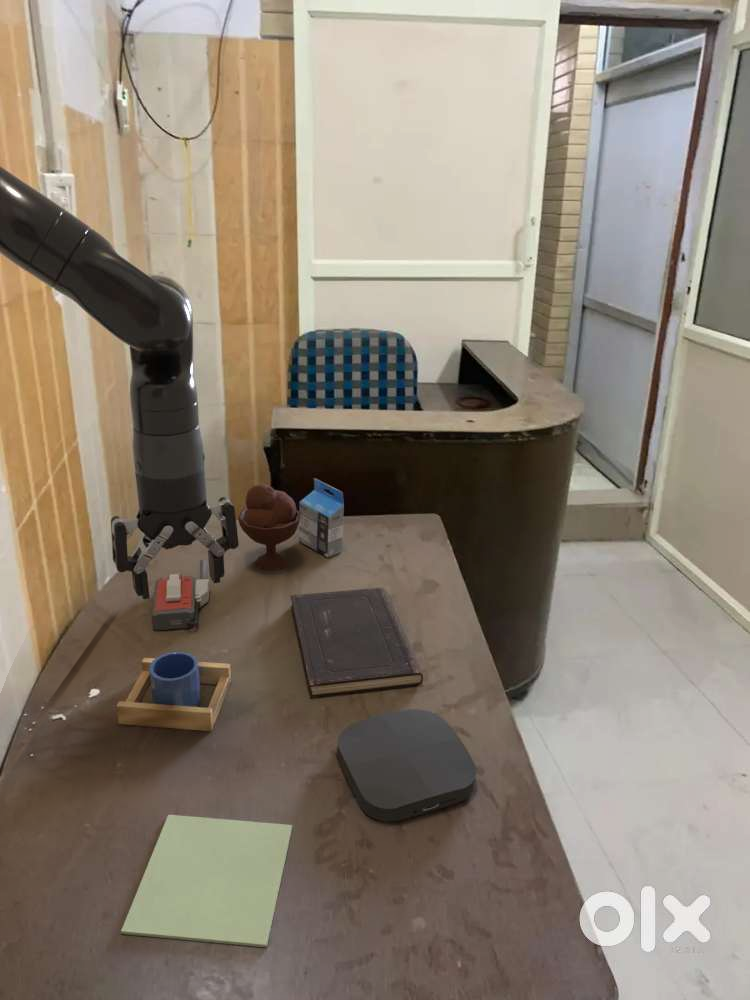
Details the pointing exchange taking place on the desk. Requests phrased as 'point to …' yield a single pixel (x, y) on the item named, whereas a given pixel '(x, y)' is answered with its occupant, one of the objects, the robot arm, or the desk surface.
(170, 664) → the small cup
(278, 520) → the ice cream bowl
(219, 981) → the desk surface
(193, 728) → the tray
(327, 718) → the desk surface
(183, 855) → the mat
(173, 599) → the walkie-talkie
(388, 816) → the media streaming box
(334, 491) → the label tape box
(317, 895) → the desk surface
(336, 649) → the hardcover book
